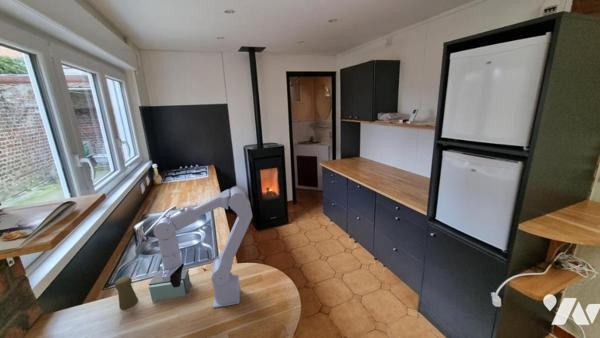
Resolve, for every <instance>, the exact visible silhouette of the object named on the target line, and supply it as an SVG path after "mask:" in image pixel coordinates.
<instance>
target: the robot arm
mask: <svg viewBox="0 0 600 338" xmlns="http://www.w3.org/2000/svg"><path fill="white" fill-rule="evenodd" d="M251 206H252V205H251V202H250V199H249V195H248V194H247V192H246V191H245V189H244V188H243V187H242V186H239V185H235V186H232V187H231V188H228V189H225V190H224V191H221V192H219V193H218V194H216V195H215V196H213V197H211V198H209V199H207V200H206V201H204V202H202V203H200V204H198V205H197V206H195V207H190V206H187V207H185V206H182V207H181V208H180V209H179V211H177V212H175V213H173V214H171V215H170V214H168V215H166V216H165V217H162V218H160V219H159V220H158V221H157V223H156V225H155V226H154V228H153V229H154V230H153V235H154V236H155V238H156V239H157V242H158V247H159V252H160V257H161V261H162V263H160V264H159V269H162V273H163V276H162V280H163V282H167V281H170V282H171V284H172V286H173V287H174V288H175V287H180V285H181V274H182V270H184V263H183V258H182V257H183V252H182V251H180V246H179V240H178V235H177V232H179V231H180V230H182V229H185V228H187V227H188V226H190V225H193V224H194V223H196V222H197V220H198V218H199V217H200V216H202V215H205V214H207V213H210V212H211V211H214V210H216V209H219V208H220V209H221V208H222V209H225V210H229V207H230V209H231V210H232V211H233V212H235V213H236V216H237V217H236V219H235V221H234V224H233V226H232V228H231V231H230V233H229V235H228V237H227V239H226V242H225V244H224V245H223V248H222V250H221V252H219V254H218V255H217V257H216V258H215V259H213V261H212V265H211V266H212V270H211V272H212V274H211V283H212V288H213V294H214V300H213V305H212V308H213V309H214V308H215V309H216V308H221V307H226V306H231V305H238V304H240V301H241V300H240V299H241V294H242V291H241V285H240V278H239V277H240V276H239V275H238V274H232V271H231V270H232V268H233V262H234V259H235V256H236V254H237V252H238V250H239V248H240V245H241V243H242V241H243V238H244V236H245V235H246V232H247V230H248V228H249V225H250V223H251V221H252V219H253V212H252V207H251Z"/></svg>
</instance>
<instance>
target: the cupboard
mask: <svg viewBox="0 0 600 338" xmlns="http://www.w3.org/2000/svg"><path fill="white" fill-rule="evenodd" d="M189 272H190V270H189V269H188V268H187V269H182V274H181V281H182V280H183V282H184V287H185V292H186V295H187V294H188V295H189V290H190V289H191V285H192V281H191V279H190V274H189ZM162 276H163V272H162V273H157V274H156V273H155V274H154V275H153V276H152V278H151V280H150V282H149V284H148V286H149V287H150V285H156V284H163V283H169V282H170V281H167V282H163V280H162Z"/></svg>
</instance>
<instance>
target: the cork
mask: <svg viewBox="0 0 600 338" xmlns="http://www.w3.org/2000/svg"><path fill="white" fill-rule="evenodd" d="M132 282H133V281H132V278H131V277H130V276H121V277H120V278H118V279H116V281H115V283H114V288H115V289H116V290H117V294H118V304H119V309H120V310H121V311H125V310H129V309H131V308H132V307H135V306H136V304H138V302H139V299H138V296H137V294H136V291H135V290H134V288H133V285H132Z"/></svg>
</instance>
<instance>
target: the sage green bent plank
mask: <svg viewBox="0 0 600 338" xmlns="http://www.w3.org/2000/svg"><path fill="white" fill-rule="evenodd" d="M148 289H149V292H150V293H149V294H150V298H151V301H152V302H155V301H162V300H168V299H175V298H182V297H185V296H186V295H187V294H186V292H185V287H184V282H183V280H182V281H181V285H180V287H175V288H174V287H173V286H172V284H171V282H169V283H163V284H156V285H150V286H149V287H148Z"/></svg>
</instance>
